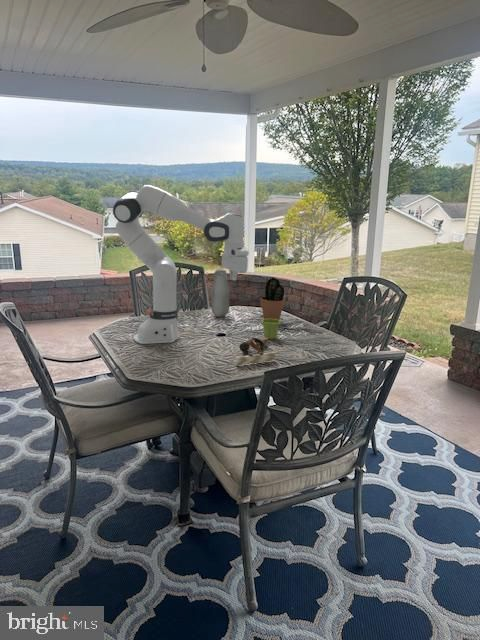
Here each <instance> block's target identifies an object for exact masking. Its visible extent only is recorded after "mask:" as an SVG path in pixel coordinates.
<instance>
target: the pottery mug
mask: <svg viewBox="0 0 480 640" xmlns="http://www.w3.org/2000/svg"><path fill="white" fill-rule="evenodd" d="M257 338H258V337H252V338H250V339H248V340H246V342H241V344H240V345H239V350H240V351H241V353H242V352H243V354H244V355H246V354H247V352H248V351H249V349H250V348H252V349H253V350H255V351H257V353H256V354H259V352H263V353H264V352H265V348H266V347H265V345H264V343H263V342H262V341H261V340H259V339H257ZM256 343H260V346H261V348H260V347H259V346H257V345H256ZM247 350H248V351H247Z"/></svg>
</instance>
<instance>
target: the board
mask: <svg viewBox="0 0 480 640" xmlns="http://www.w3.org/2000/svg"><path fill="white" fill-rule="evenodd" d="M270 360H275V361H276V352H275V351H271V352H270V351H269V352H265V353H264V352H259V354H257V353H256V354H254V353H248V355H243V356H236V358H235V365H236V364H237V365H241V364H249V363H257V362H263V361H270Z"/></svg>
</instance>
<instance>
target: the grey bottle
mask: <svg viewBox="0 0 480 640" xmlns="http://www.w3.org/2000/svg"><path fill="white" fill-rule="evenodd" d="M210 293H211V312H212V314H213V316H215V317H218V318H223V317H226V316H227V315H228V313H229V310H230V286H229V282H228V272H227V270H226V269H221V268H220V269H216V270H215V271H214V273H213V282H212V286H211V291H210Z"/></svg>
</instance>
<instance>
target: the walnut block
mask: <svg viewBox="0 0 480 640" xmlns="http://www.w3.org/2000/svg"><path fill="white" fill-rule="evenodd" d="M256 338H257V339H259V340H261V341H262V342H263V343H264V345H265V346H267V347H268V346H269V339H268V338H265V337H264V336H260V337H256ZM255 344H256V345H257V346H260V343H255ZM260 347H261V346H260ZM260 347H259V348H260Z"/></svg>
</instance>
